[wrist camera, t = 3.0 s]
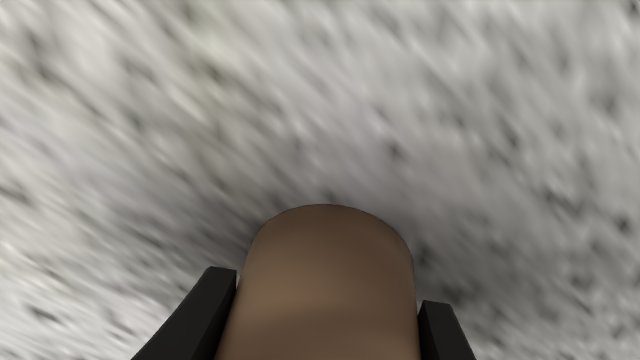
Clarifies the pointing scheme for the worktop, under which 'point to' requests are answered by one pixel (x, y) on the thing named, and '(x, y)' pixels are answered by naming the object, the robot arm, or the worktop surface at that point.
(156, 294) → the worktop surface
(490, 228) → the worktop surface
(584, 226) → the worktop surface
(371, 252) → the walnut cylinder
